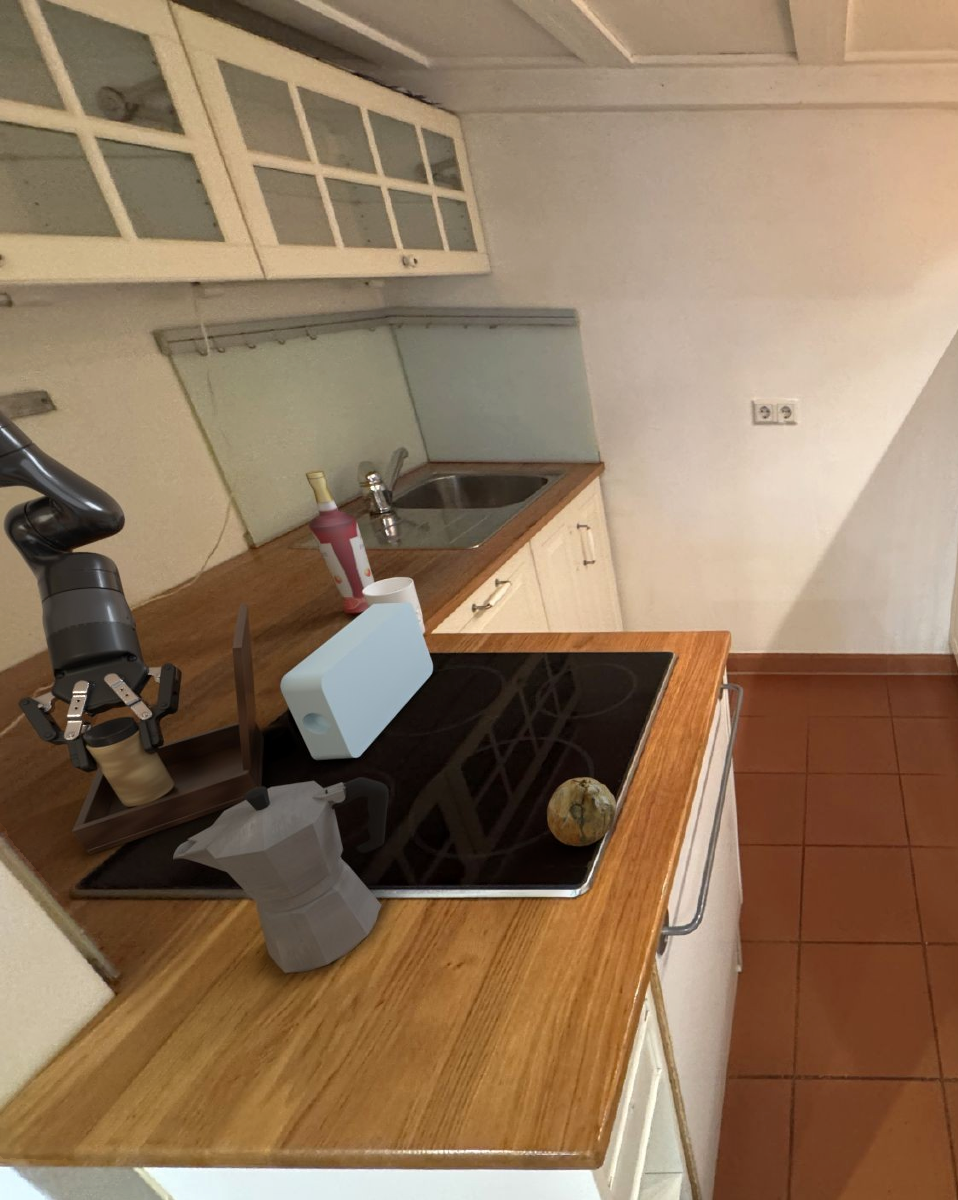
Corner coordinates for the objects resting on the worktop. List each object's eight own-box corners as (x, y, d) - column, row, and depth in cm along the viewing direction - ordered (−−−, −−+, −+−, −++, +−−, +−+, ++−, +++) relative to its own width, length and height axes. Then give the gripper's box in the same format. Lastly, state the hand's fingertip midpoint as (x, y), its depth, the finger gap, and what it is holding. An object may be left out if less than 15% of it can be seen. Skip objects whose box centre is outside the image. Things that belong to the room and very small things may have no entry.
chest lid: (232, 648, 75) (241, 647, 76) (239, 604, 86) (247, 604, 87) (242, 770, 80) (251, 769, 81) (248, 715, 91) (256, 714, 91)
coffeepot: (239, 1008, 58) (140, 861, 50) (248, 931, 65) (163, 791, 57) (433, 919, 65) (375, 779, 57) (423, 858, 72) (369, 726, 64)
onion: (626, 802, 79) (616, 750, 76) (618, 853, 72) (605, 798, 69) (562, 810, 78) (548, 757, 75) (547, 863, 71) (531, 807, 68)
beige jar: (119, 812, 78) (75, 746, 74) (126, 790, 82) (85, 725, 78) (171, 795, 81) (133, 730, 77) (176, 774, 84) (139, 711, 80)
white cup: (437, 631, 121) (421, 582, 117) (393, 650, 115) (375, 599, 111) (415, 621, 125) (399, 573, 121) (372, 638, 119) (353, 589, 115)
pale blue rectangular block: (399, 672, 108) (372, 600, 102) (434, 670, 108) (410, 598, 103) (309, 765, 87) (269, 682, 81) (354, 762, 88) (317, 679, 82)
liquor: (389, 611, 129) (340, 472, 117) (346, 622, 125) (290, 480, 113) (384, 599, 135) (336, 465, 122) (342, 610, 130) (288, 472, 118)
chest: (89, 856, 74) (71, 831, 72) (115, 785, 85) (100, 762, 83) (261, 796, 82) (248, 772, 81) (264, 739, 93) (253, 717, 91)
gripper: (-13, 640, 74) (14, 781, 70) (156, 605, 81) (188, 730, 78) (26, 661, 80) (53, 791, 77) (180, 627, 88) (211, 744, 84)
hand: (121, 760), depth 77 cm, fingers closed on beige jar, 5 cm apart
